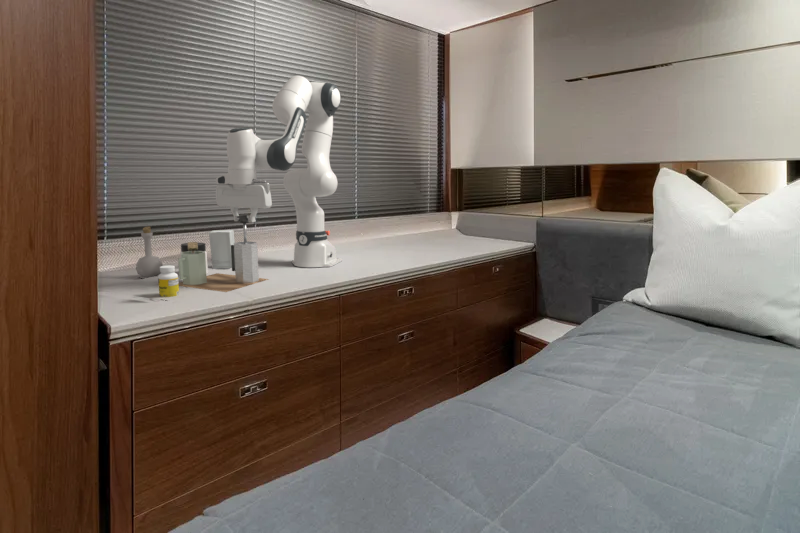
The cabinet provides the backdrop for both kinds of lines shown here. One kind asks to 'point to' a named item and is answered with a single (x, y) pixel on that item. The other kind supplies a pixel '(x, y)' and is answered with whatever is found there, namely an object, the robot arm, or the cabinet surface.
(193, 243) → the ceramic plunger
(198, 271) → the pale green octagonal mug
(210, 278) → the serving board
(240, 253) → the steel press
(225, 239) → the skincare box
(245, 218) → the steel plunger
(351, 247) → the cabinet surface
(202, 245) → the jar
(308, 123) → the robot arm
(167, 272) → the supplement bottle
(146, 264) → the potion bottle
